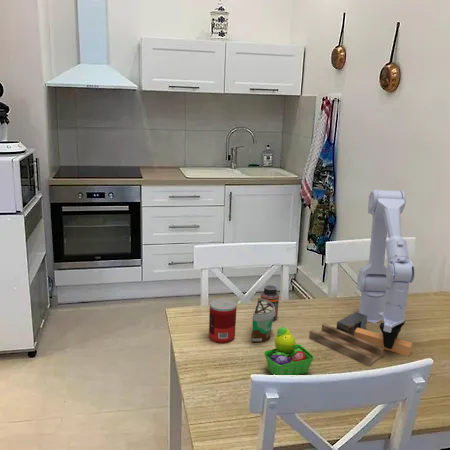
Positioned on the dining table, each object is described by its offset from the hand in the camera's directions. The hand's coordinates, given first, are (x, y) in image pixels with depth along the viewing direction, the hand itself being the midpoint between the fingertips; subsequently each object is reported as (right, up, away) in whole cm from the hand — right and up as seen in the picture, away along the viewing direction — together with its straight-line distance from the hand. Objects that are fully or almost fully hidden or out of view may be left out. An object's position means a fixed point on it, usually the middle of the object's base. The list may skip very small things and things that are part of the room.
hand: (389, 344), depth 136 cm
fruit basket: (-32, -4, -12) cm, 35 cm away
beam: (-9, +1, +9) cm, 13 cm away
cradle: (-13, -1, 0) cm, 13 cm away
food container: (-37, +1, +5) cm, 37 cm away
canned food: (-49, +1, +3) cm, 49 cm away
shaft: (-2, -1, +1) cm, 3 cm away
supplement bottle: (-34, +4, +16) cm, 38 cm away
